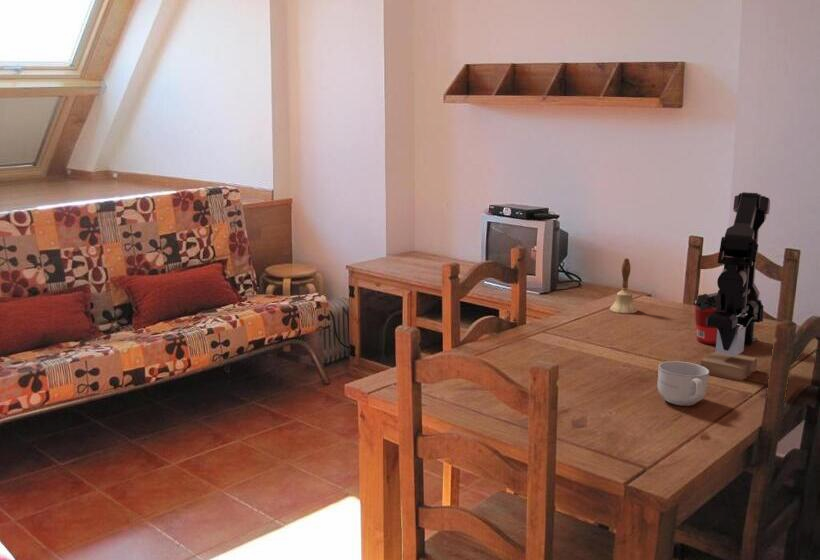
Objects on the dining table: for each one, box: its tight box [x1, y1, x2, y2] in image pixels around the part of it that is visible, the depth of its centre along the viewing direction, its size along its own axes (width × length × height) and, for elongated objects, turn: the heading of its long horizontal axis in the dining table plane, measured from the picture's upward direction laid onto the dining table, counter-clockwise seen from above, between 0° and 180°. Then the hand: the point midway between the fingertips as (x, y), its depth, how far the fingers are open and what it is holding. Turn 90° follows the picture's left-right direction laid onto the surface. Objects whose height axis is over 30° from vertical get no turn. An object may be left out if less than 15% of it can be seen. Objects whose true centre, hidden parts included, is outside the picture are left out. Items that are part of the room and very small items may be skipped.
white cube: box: [715, 324, 746, 356], centre depth 219 cm, size 5×5×7 cm
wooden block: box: [700, 350, 758, 382], centre depth 221 cm, size 10×10×4 cm
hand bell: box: [609, 258, 639, 315], centre depth 273 cm, size 8×8×16 cm
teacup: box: [656, 360, 710, 407], centre depth 200 cm, size 14×11×8 cm
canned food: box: [694, 300, 723, 345], centre depth 243 cm, size 8×8×11 cm
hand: (730, 347), depth 220 cm, fingers closed on white cube, 5 cm apart
